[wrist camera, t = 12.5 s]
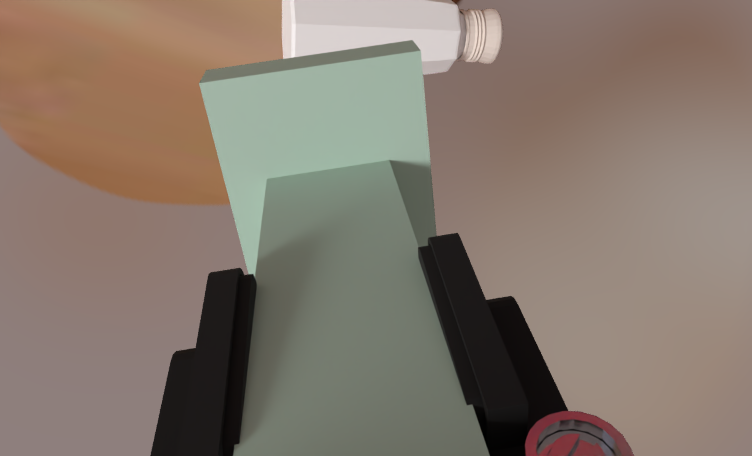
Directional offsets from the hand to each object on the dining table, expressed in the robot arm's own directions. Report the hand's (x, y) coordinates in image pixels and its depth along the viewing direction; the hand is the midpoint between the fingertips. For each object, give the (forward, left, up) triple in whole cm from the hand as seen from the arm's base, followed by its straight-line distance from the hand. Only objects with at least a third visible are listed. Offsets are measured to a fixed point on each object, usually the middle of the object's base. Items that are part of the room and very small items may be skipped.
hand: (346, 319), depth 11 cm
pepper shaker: (+1, +1, -23) cm, 22 cm away
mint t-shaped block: (0, +1, -6) cm, 6 cm away
